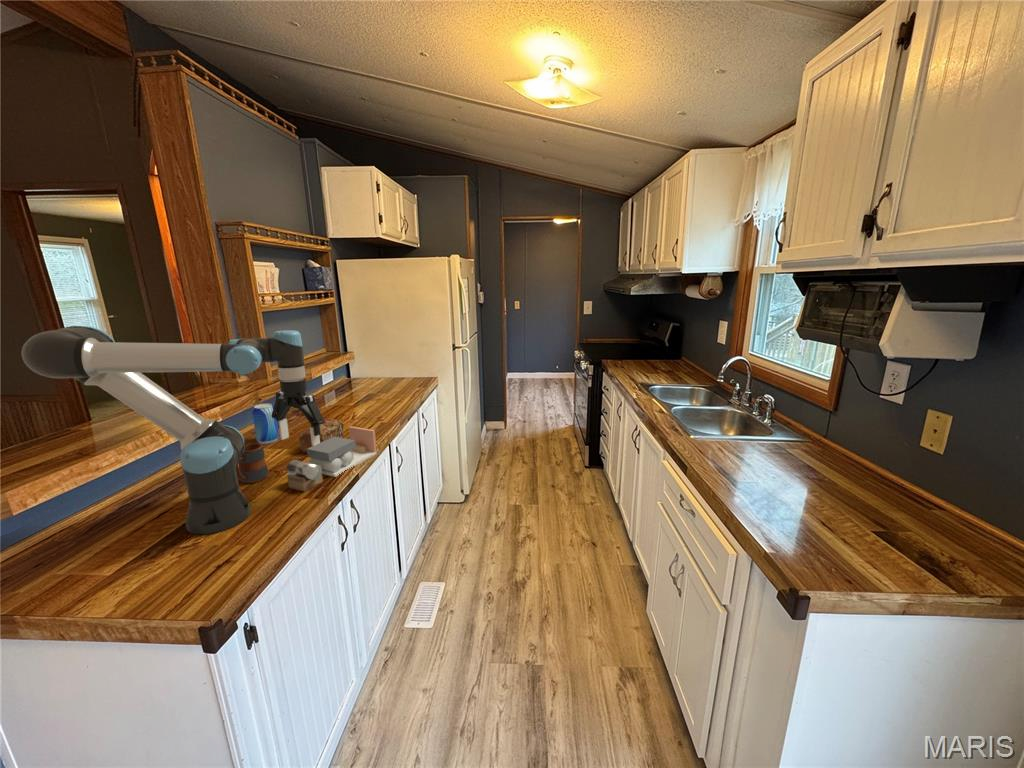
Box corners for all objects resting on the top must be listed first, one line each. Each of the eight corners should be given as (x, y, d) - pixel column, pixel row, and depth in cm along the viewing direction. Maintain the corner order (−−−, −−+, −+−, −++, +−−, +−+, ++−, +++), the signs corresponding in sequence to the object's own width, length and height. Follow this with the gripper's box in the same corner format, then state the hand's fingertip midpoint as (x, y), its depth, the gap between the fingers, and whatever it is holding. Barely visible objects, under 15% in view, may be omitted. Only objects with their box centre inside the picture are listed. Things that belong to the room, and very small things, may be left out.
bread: (324, 454, 163) (322, 430, 161) (298, 453, 163) (296, 430, 161) (345, 437, 181) (343, 415, 179) (322, 436, 182) (319, 415, 179)
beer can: (252, 442, 174) (247, 406, 170) (271, 436, 181) (266, 401, 177) (264, 446, 170) (259, 409, 166) (283, 439, 177) (278, 404, 173)
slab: (307, 456, 145) (306, 448, 144) (335, 443, 157) (334, 436, 156) (329, 461, 142) (328, 453, 141) (355, 447, 153) (355, 440, 153)
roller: (287, 477, 137) (286, 463, 136) (300, 470, 141) (298, 457, 140) (310, 482, 133) (308, 468, 132) (322, 475, 138) (320, 462, 137)
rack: (304, 491, 133) (303, 479, 132) (289, 487, 136) (287, 475, 135) (322, 481, 140) (321, 469, 139) (307, 477, 143) (306, 466, 142)
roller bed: (308, 471, 147) (305, 446, 145) (353, 449, 168) (350, 426, 165) (334, 477, 143) (331, 451, 141) (376, 453, 164) (374, 430, 161)
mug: (225, 488, 135) (220, 455, 133) (252, 472, 147) (247, 441, 144) (249, 489, 134) (244, 457, 132) (274, 473, 146) (269, 443, 143)
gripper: (332, 380, 129) (338, 442, 134) (274, 373, 137) (281, 432, 142) (313, 385, 122) (320, 451, 127) (253, 378, 130) (262, 439, 135)
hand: (300, 441), depth 135 cm, fingers open, 13 cm apart
